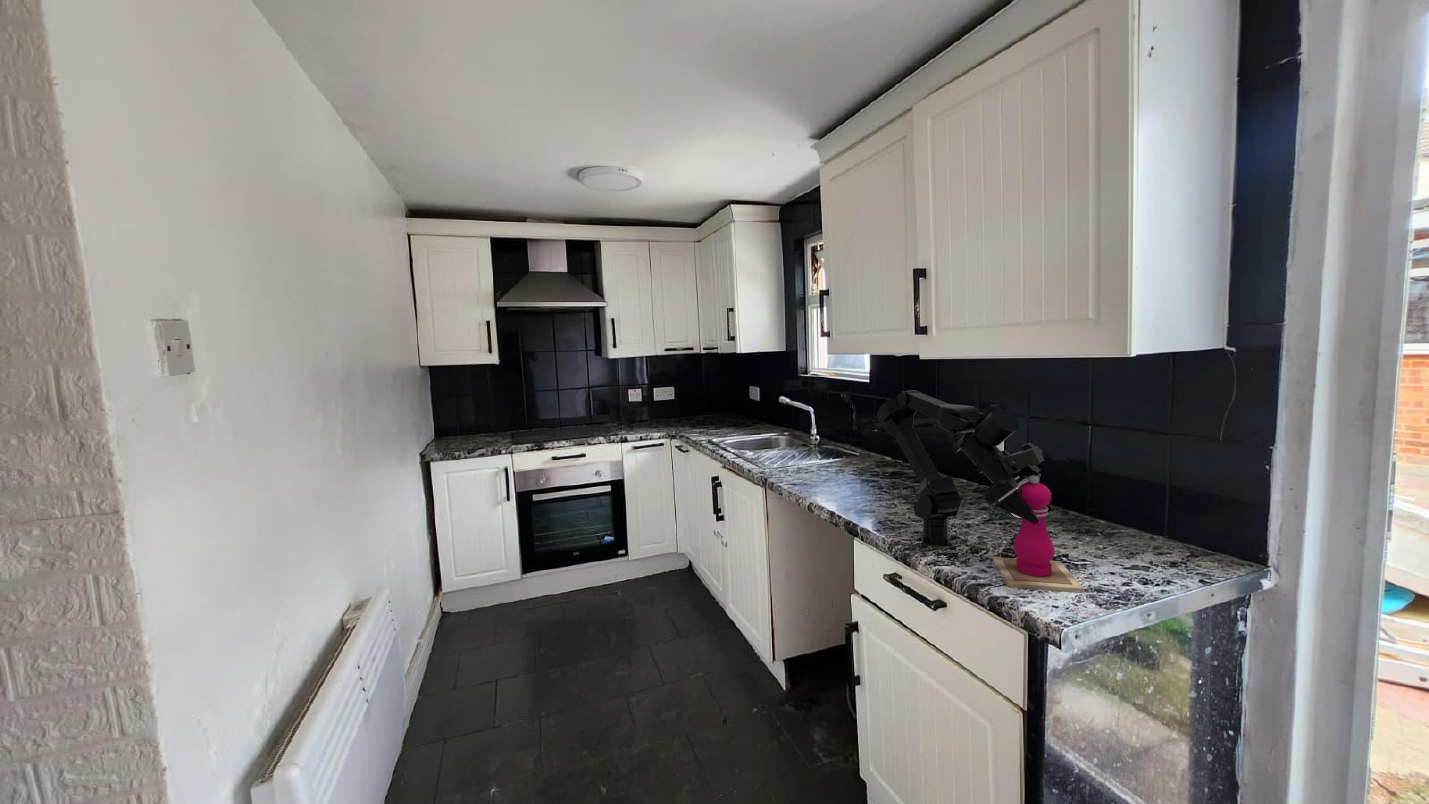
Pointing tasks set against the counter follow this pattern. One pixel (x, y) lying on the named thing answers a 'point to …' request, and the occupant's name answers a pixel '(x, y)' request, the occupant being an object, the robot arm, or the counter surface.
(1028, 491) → the pepper mill
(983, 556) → the counter surface
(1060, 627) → the counter surface
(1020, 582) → the beech tray
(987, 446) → the robot arm
